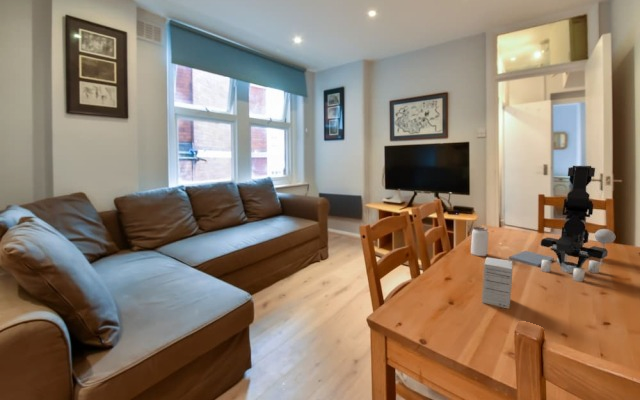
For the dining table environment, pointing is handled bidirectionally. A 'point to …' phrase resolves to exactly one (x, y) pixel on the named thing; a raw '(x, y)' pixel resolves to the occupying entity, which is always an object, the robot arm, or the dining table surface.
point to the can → (479, 241)
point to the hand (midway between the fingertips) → (569, 268)
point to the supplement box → (497, 282)
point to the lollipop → (604, 237)
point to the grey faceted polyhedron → (568, 267)
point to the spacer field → (578, 272)
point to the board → (530, 258)
